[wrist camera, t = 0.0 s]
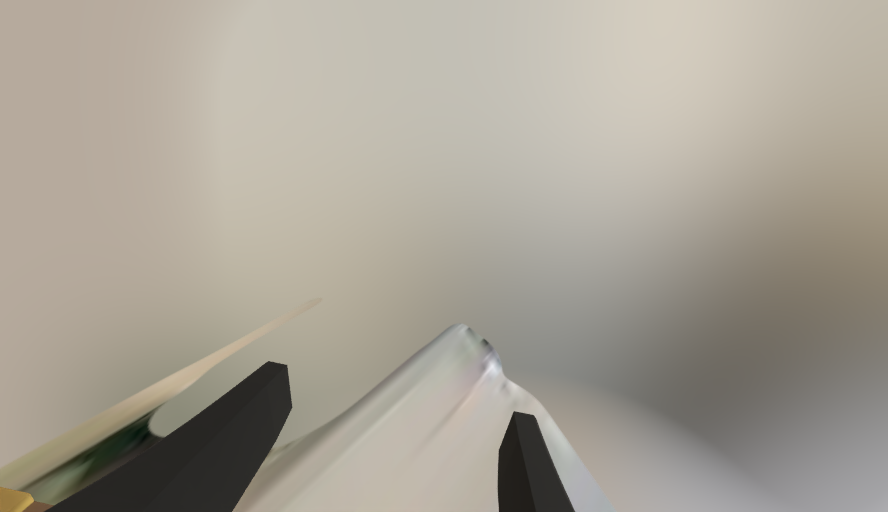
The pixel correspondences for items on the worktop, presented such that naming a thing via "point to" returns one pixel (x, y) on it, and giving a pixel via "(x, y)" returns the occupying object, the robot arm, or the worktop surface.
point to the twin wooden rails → (19, 502)
